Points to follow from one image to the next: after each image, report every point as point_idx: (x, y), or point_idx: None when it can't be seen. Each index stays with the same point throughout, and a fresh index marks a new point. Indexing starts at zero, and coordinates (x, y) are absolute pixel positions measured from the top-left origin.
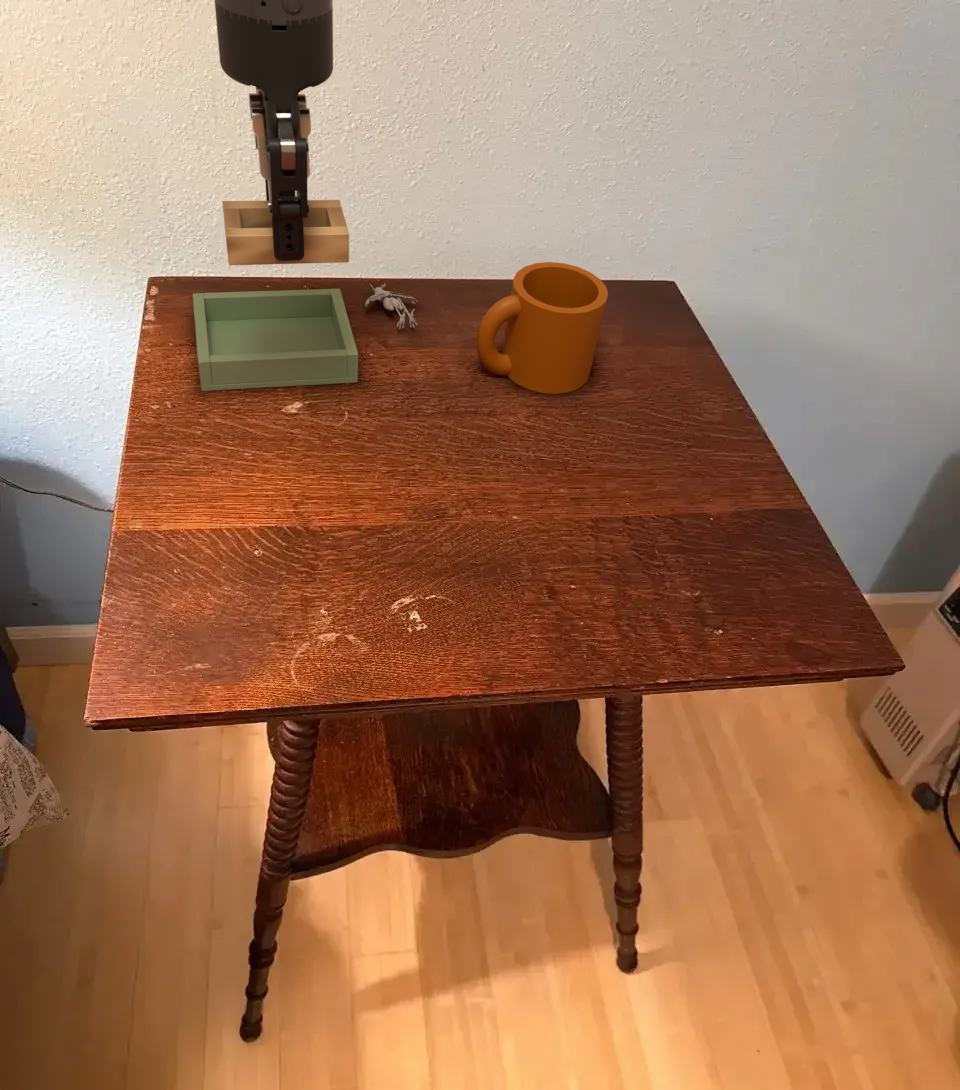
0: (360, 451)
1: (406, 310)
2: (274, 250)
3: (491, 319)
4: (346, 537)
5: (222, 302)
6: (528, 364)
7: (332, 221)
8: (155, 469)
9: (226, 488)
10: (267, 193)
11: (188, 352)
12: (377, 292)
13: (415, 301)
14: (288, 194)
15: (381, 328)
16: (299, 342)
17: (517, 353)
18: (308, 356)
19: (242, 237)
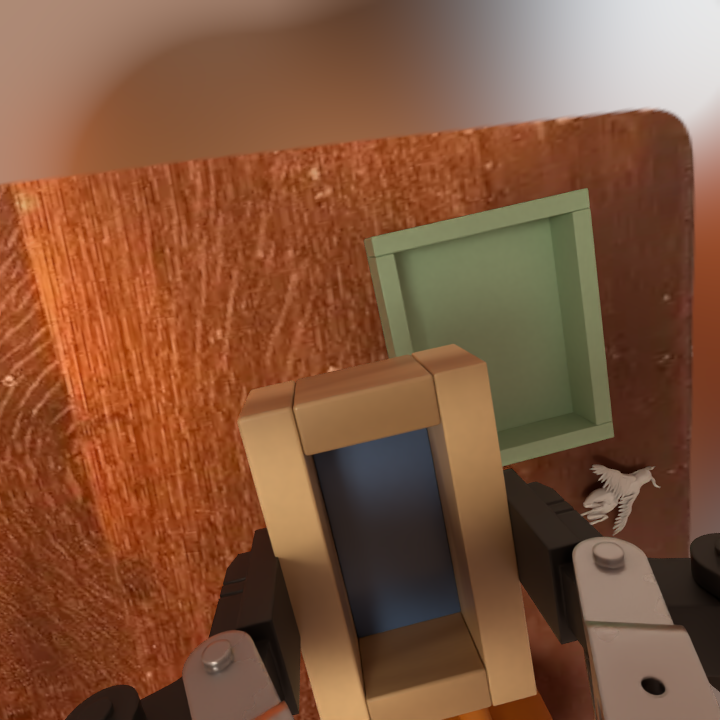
0: (251, 484)
1: None
2: (255, 541)
3: (463, 716)
4: (66, 487)
5: (570, 244)
6: None
7: (397, 699)
8: (159, 204)
9: (135, 316)
10: (519, 515)
11: (468, 198)
12: (631, 479)
13: (615, 531)
14: (525, 575)
15: (553, 482)
16: (497, 373)
17: None
18: None
19: (250, 467)
